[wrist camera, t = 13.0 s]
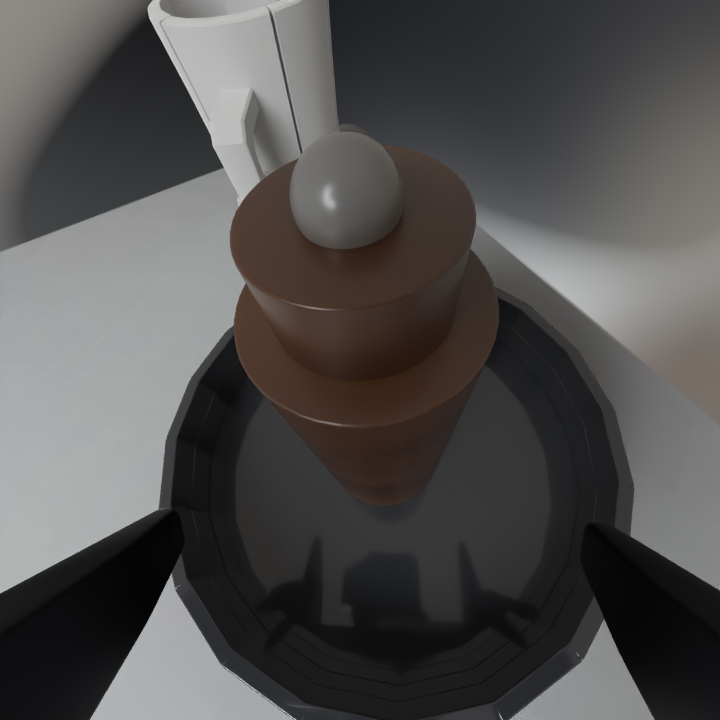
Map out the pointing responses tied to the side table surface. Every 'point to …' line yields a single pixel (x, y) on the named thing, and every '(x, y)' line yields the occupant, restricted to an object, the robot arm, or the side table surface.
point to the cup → (254, 77)
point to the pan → (401, 542)
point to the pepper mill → (364, 308)
